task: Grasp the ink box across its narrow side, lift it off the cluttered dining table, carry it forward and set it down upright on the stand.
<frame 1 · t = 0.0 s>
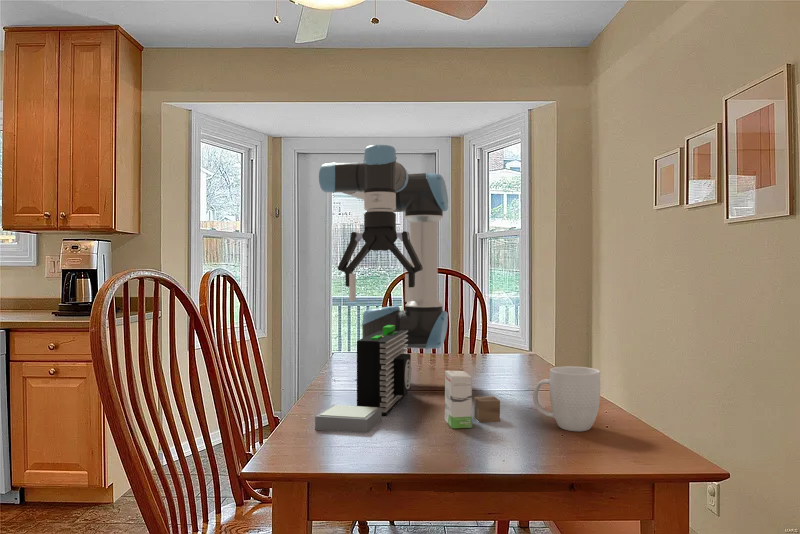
hand: (379, 301, 155), 28 cm above the table, fingers open, 13 cm apart
electronic device: (388, 404, 172), on the table
ink box: (458, 424, 151), on the table
stand: (349, 424, 150), on the table
mug: (569, 428, 148), on the table
walnut block: (486, 419, 155), on the table
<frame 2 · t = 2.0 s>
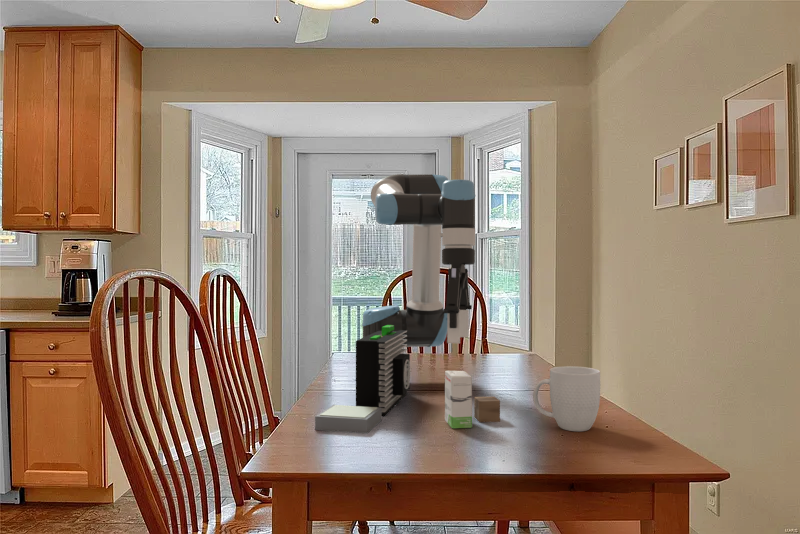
hand: (458, 340, 150), 19 cm above the table, fingers open, 13 cm apart
nothing on the table moved.
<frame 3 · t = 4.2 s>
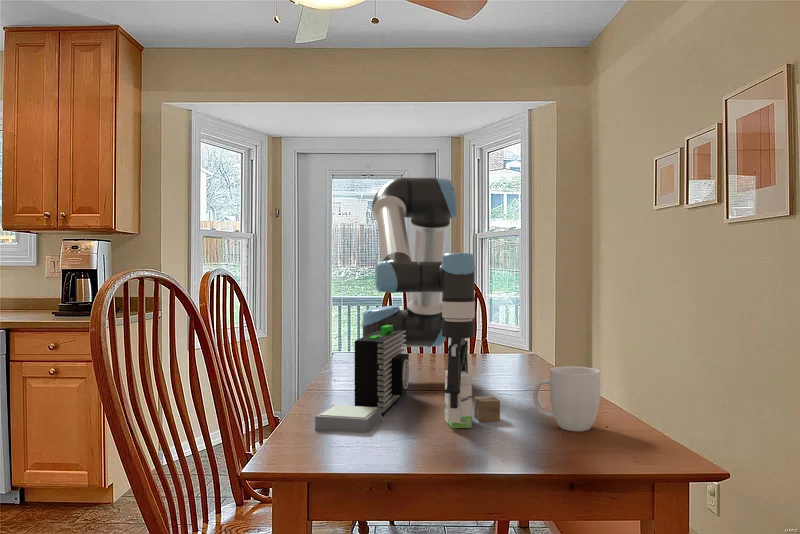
hand: (458, 416, 151), 2 cm above the table, fingers closed on ink box, 9 cm apart
ink box: (458, 424, 151), on the table, touching gripper
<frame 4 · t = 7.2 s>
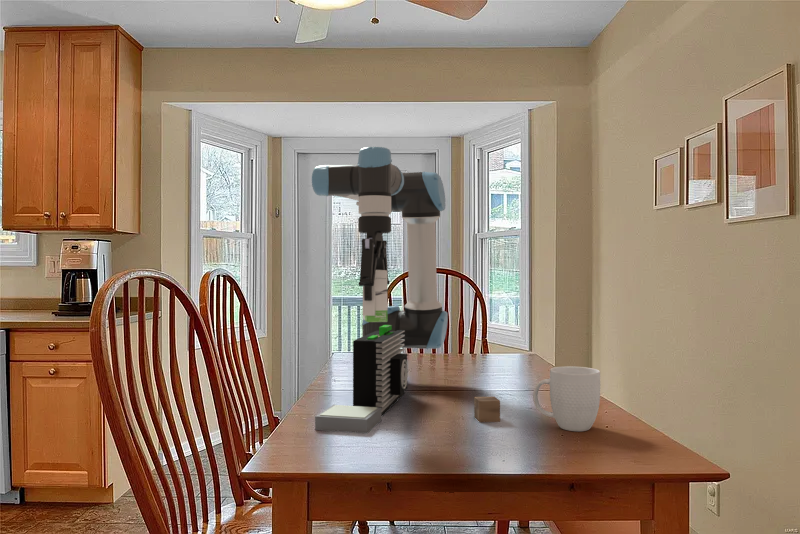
hand: (374, 313, 150), 25 cm above the table, fingers closed on ink box, 9 cm apart
ink box: (375, 321, 150), point 24 cm above the table, touching gripper
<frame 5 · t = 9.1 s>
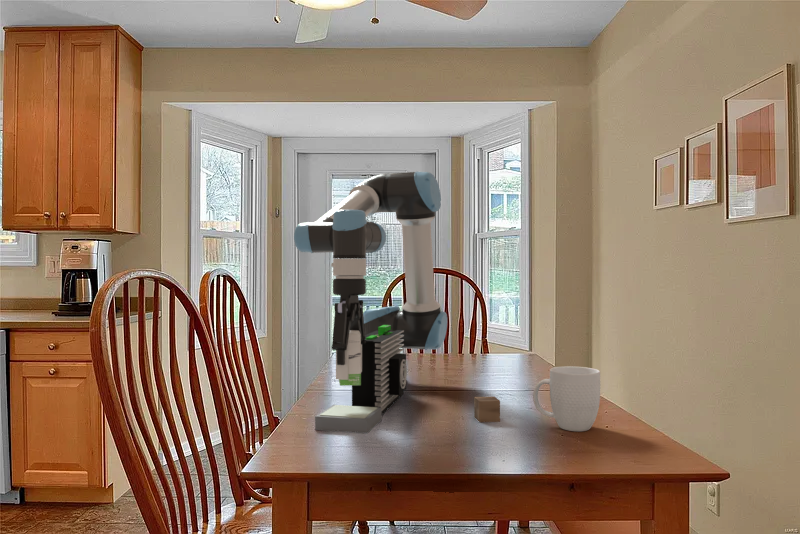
hand: (349, 375, 149), 11 cm above the table, fingers closed on ink box, 9 cm apart
ink box: (349, 383, 149), point 10 cm above the table, touching gripper
when the fingers open (6 cm above the table, at t = 10.5 s): ink box drops 1 cm, resting on stand.
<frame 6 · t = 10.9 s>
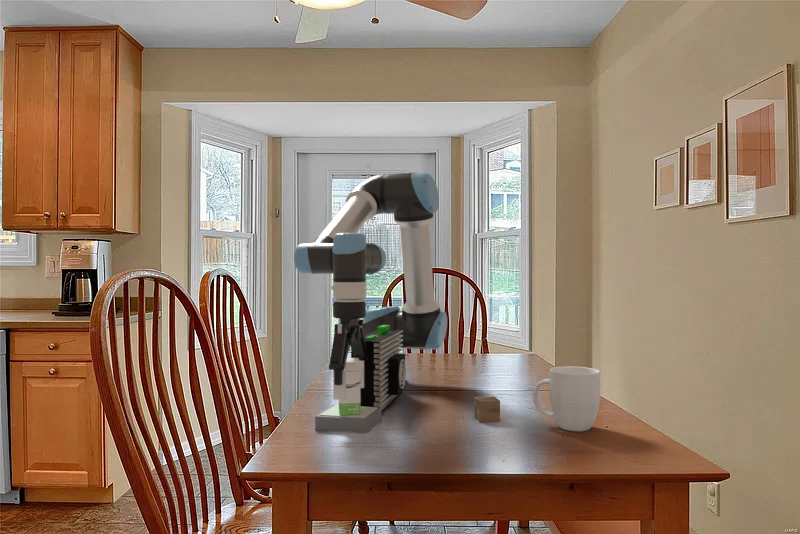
hand: (349, 393, 149), 7 cm above the table, fingers open, 13 cm apart
ink box: (349, 411, 149), point 3 cm above the table, touching stand
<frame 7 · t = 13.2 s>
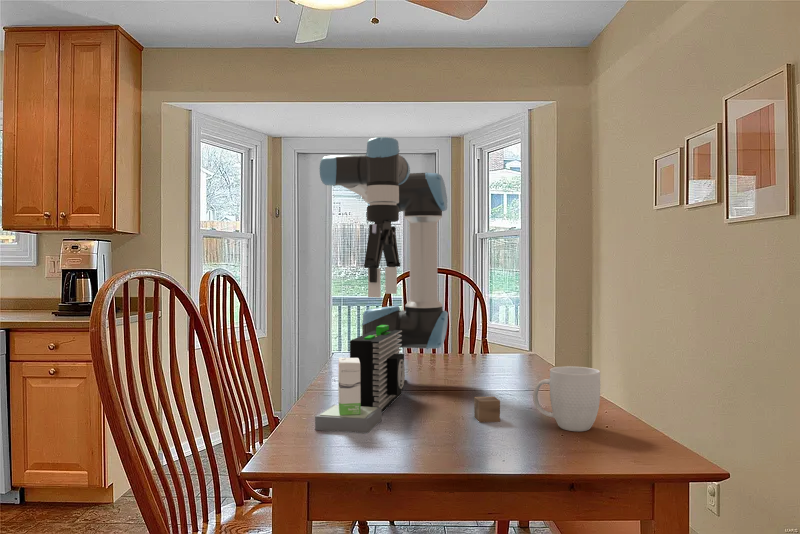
hand: (383, 295, 153), 29 cm above the table, fingers open, 13 cm apart
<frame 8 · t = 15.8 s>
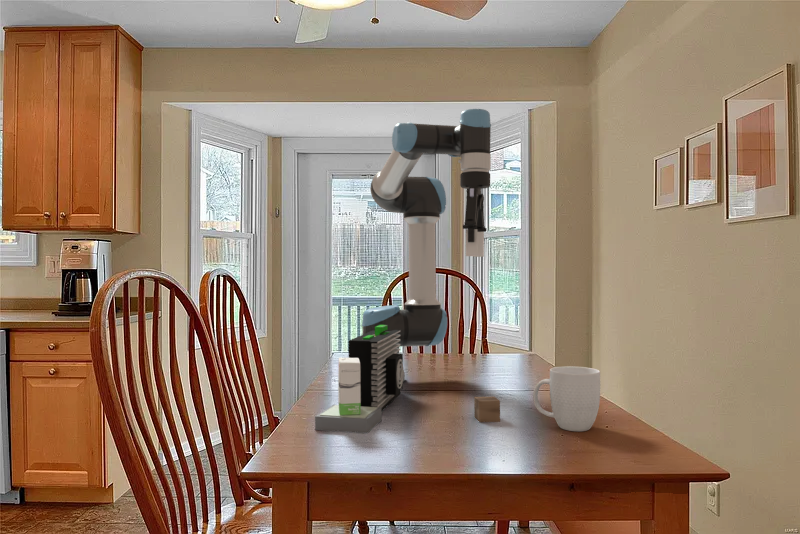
hand: (475, 256, 164), 39 cm above the table, fingers open, 13 cm apart
at the end: ink box inside the target area on the stand (0.0 cm from its centre), point 3.0 cm above the stand's base; ink box tilted 0°; the gripper is holding nothing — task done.
